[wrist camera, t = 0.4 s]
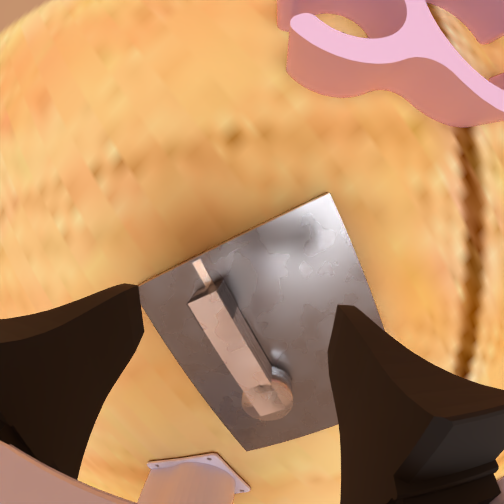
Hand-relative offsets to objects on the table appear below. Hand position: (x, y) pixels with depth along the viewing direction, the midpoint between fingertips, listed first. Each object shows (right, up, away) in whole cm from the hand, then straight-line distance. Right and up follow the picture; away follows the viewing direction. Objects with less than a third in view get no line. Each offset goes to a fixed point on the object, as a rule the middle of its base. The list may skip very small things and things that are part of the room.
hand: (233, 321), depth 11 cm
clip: (+13, +17, +6) cm, 22 cm away
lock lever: (0, -4, +10) cm, 11 cm away
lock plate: (+3, -5, +11) cm, 13 cm away
